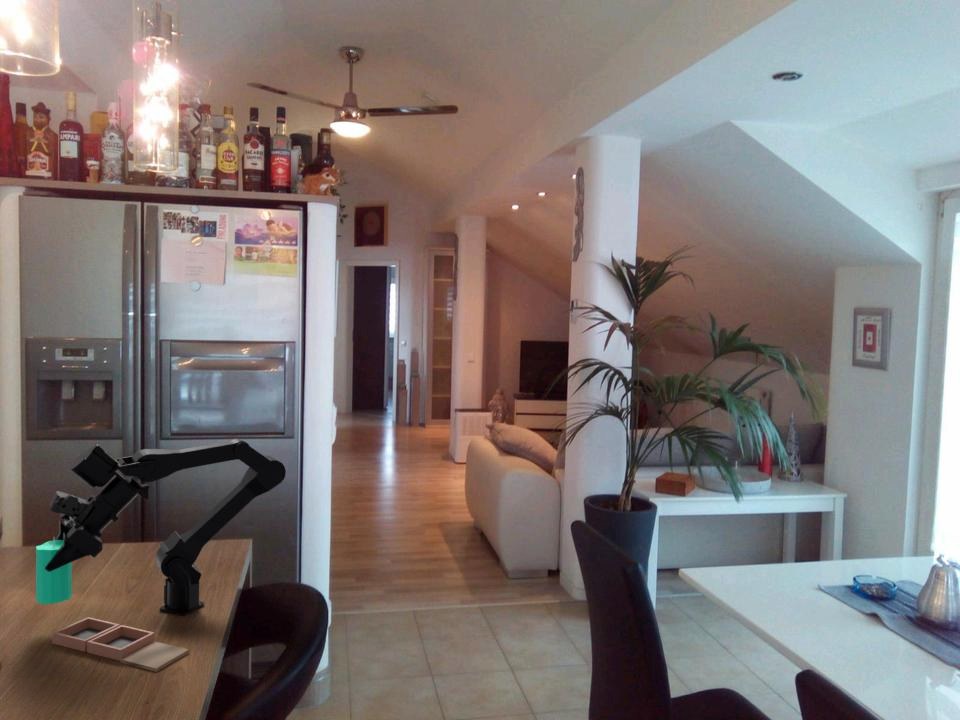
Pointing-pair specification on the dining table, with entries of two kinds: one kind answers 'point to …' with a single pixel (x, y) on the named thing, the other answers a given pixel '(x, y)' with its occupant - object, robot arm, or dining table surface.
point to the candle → (52, 575)
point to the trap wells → (103, 638)
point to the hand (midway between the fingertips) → (45, 565)
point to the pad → (154, 656)
